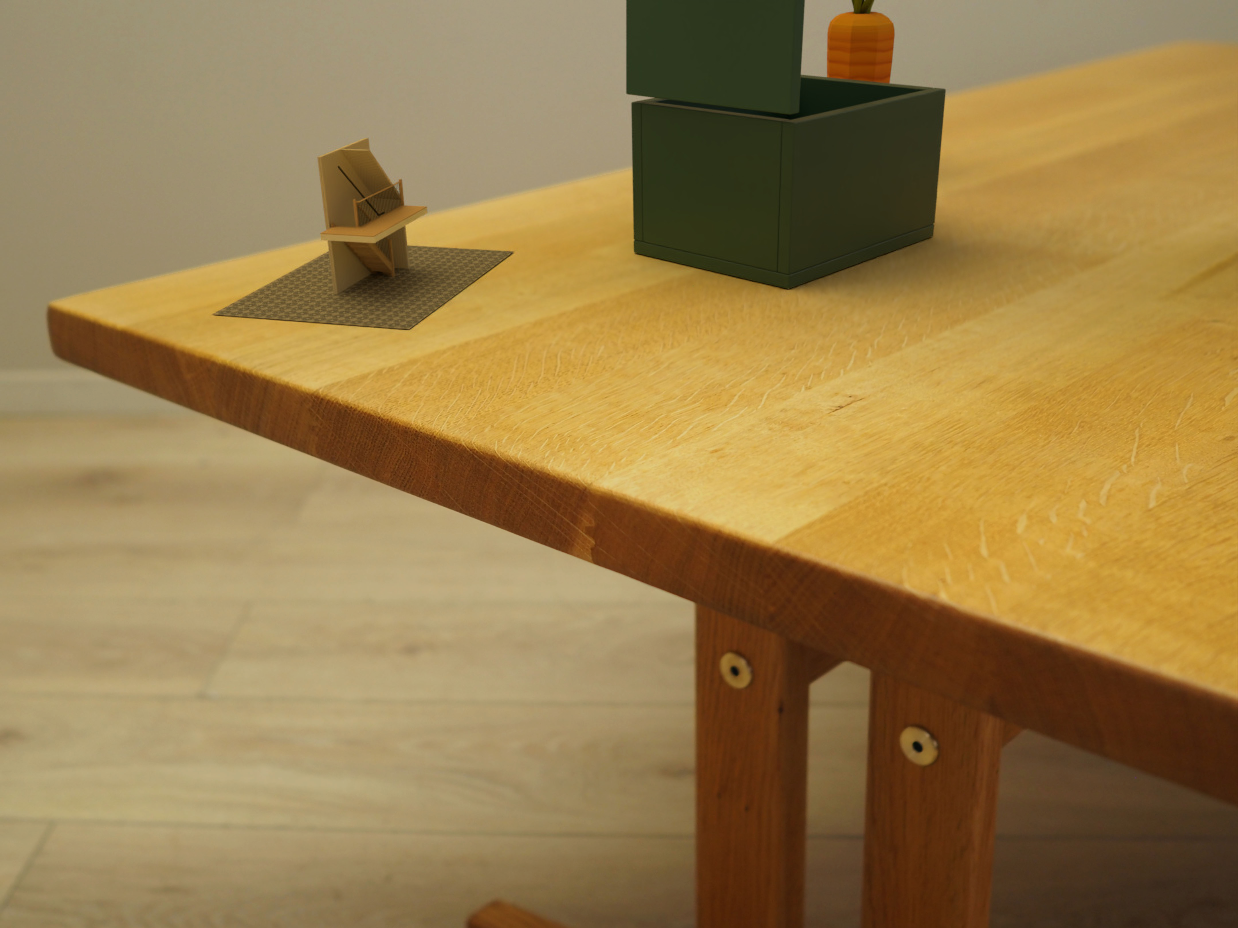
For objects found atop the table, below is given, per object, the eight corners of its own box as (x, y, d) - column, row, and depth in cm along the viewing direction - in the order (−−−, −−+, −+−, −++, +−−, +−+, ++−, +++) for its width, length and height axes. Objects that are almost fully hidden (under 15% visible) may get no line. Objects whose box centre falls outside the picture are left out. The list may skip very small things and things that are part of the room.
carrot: (831, 163, 98) (841, -44, 92) (893, 168, 96) (908, -44, 90) (810, 176, 94) (820, -40, 88) (876, 181, 92) (890, -40, 86)
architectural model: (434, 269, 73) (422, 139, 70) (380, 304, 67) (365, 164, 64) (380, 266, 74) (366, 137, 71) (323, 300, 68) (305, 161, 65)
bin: (783, 208, 85) (787, 73, 81) (933, 236, 77) (946, 88, 74) (633, 253, 75) (630, 102, 72) (788, 289, 68) (794, 123, 64)
